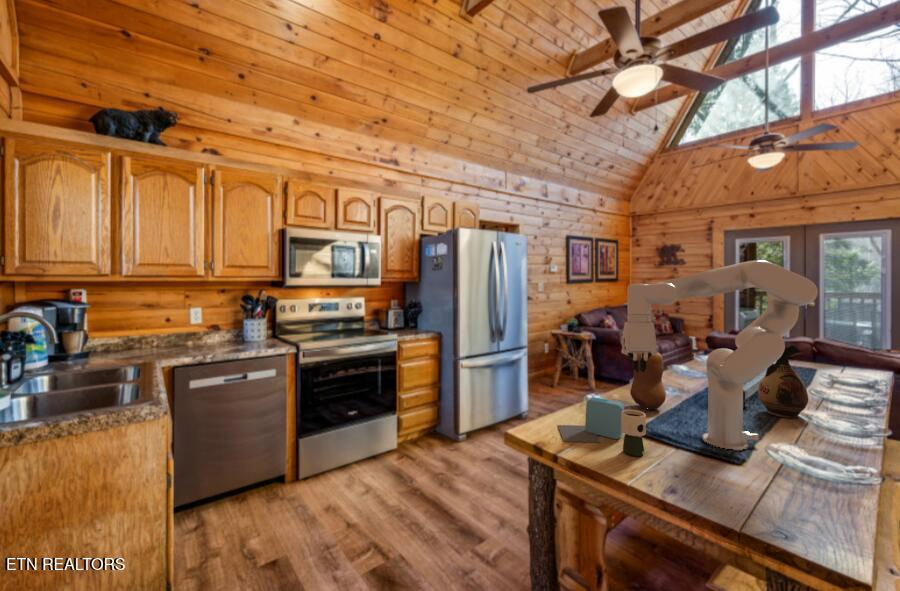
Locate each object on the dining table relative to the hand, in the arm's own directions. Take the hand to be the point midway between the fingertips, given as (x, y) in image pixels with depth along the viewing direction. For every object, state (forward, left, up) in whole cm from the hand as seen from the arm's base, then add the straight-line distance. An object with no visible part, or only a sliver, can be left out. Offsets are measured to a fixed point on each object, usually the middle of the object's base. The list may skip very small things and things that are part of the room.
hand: (639, 370), depth 140 cm
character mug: (+7, +15, -23) cm, 28 cm away
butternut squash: (-14, -32, -23) cm, 42 cm away
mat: (+21, 0, -23) cm, 31 cm away
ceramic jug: (-63, -28, -23) cm, 73 cm away
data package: (+12, 0, -23) cm, 26 cm away
